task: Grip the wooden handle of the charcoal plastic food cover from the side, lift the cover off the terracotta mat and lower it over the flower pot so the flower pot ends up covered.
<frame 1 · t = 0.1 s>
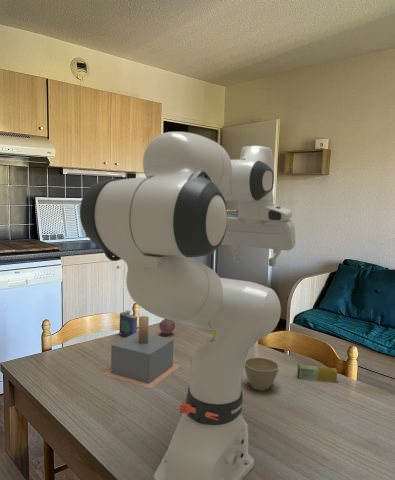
hand: (254, 263, 103), 39 cm above the table, tool pointing down, fingers open, 8 cm apart
cover: (142, 369, 125), resting on mat
vegetable: (166, 335, 158), on the table
flower pot: (260, 387, 117), on the table
mat: (142, 370, 125), on the table
medication box: (316, 380, 124), on the table
flask: (127, 337, 154), on the table
supplement bottle: (221, 343, 152), on the table
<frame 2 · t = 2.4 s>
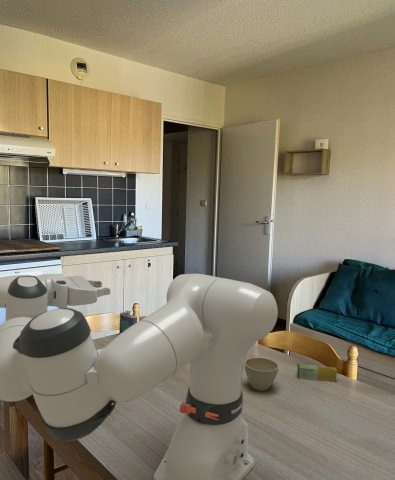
hand: (105, 287, 116), 28 cm above the table, tool horizontal, fingers open, 8 cm apart
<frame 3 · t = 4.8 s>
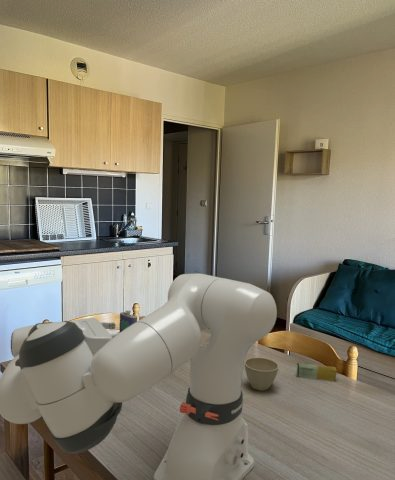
hand: (119, 330, 120), 14 cm above the table, tool horizontal, fingers open, 8 cm apart
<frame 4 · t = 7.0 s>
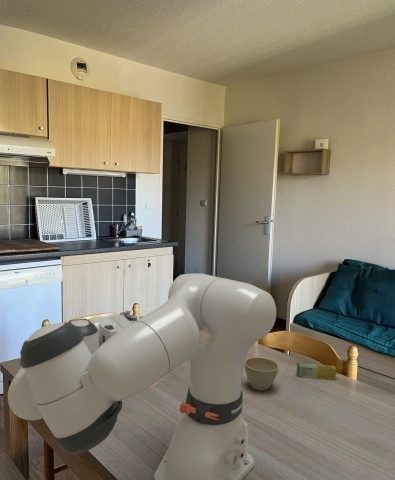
hand: (146, 326, 124), 14 cm above the table, tool horizontal, fingers closed on cover, 3 cm apart
cover: (142, 369, 125), resting on mat, touching gripper
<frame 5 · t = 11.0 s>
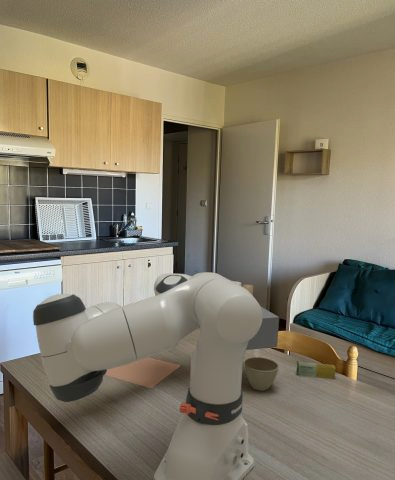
hand: (250, 295, 118), 27 cm above the table, tool horizontal, fingers closed on cover, 3 cm apart
cover: (245, 340, 119), point 13 cm above the table, touching gripper
when the fingers open (15 cm above the table, at t = 14.8 s): cover drops 1 cm, on the table.
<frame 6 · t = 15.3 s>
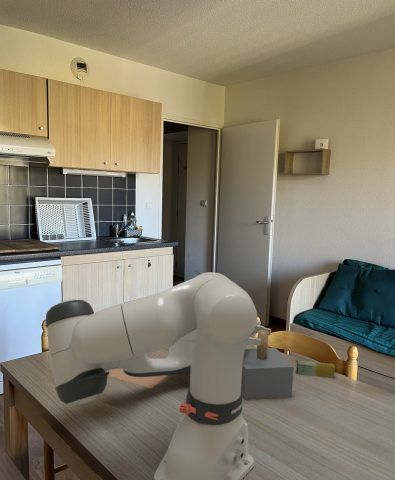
hand: (265, 337, 115), 15 cm above the table, tool horizontal, fingers open, 8 cm apart
cover: (260, 386, 117), on the table
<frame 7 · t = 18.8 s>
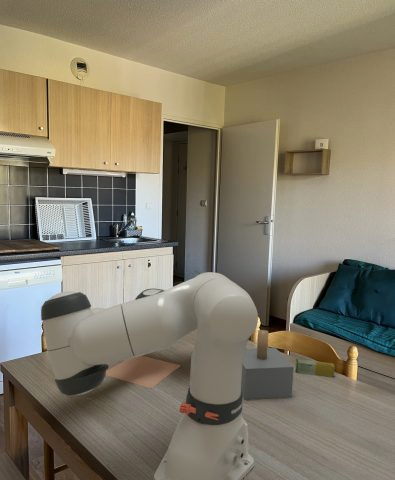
hand: (225, 313, 121), 20 cm above the table, tool horizontal, fingers open, 8 cm apart
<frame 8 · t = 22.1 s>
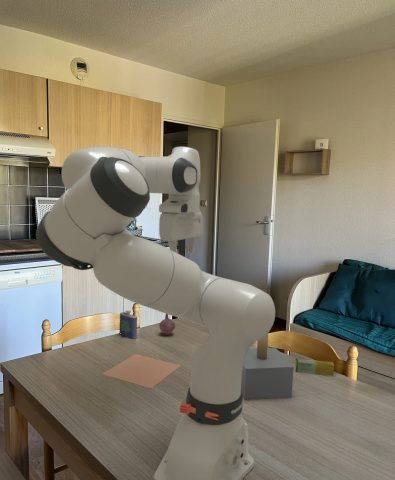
hand: (182, 254, 113), 39 cm above the table, tool pointing down, fingers open, 8 cm apart
at the end: cover 0.0 cm from the flower pot (horizontally); cover on the table; flower pot moved 0.2 cm from its start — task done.
